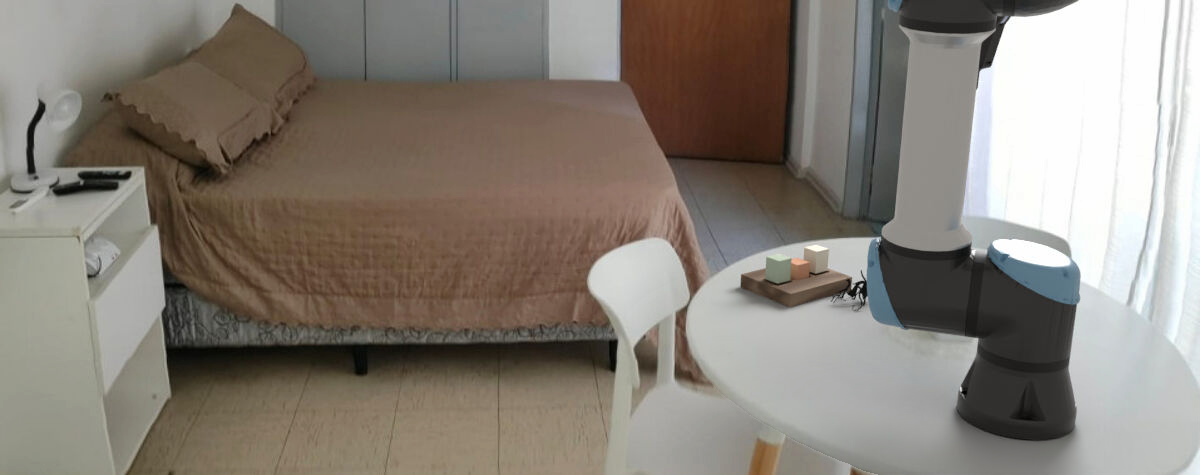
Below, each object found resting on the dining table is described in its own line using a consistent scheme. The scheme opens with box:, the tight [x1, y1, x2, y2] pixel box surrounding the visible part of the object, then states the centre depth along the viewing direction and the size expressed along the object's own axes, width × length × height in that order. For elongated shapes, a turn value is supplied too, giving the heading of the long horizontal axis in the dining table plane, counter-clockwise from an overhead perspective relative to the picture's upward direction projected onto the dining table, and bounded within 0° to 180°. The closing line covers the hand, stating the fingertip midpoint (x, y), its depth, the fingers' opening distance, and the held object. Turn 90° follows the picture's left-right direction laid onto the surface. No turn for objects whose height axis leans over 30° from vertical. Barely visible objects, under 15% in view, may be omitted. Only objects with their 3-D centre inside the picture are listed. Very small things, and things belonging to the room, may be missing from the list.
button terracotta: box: [790, 257, 810, 281], centre depth 206 cm, size 3×3×4 cm
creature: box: [830, 269, 868, 312], centre depth 200 cm, size 8×5×8 cm
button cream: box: [803, 244, 830, 274], centre depth 208 cm, size 3×3×4 cm
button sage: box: [765, 253, 793, 284], centre depth 203 cm, size 3×3×4 cm
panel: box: [740, 267, 853, 308], centre depth 206 cm, size 12×15×2 cm
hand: (962, 109), depth 196 cm, fingers closed
